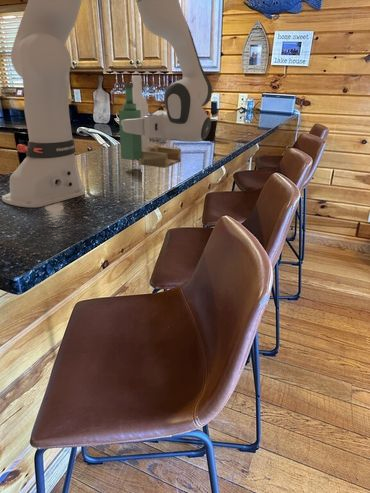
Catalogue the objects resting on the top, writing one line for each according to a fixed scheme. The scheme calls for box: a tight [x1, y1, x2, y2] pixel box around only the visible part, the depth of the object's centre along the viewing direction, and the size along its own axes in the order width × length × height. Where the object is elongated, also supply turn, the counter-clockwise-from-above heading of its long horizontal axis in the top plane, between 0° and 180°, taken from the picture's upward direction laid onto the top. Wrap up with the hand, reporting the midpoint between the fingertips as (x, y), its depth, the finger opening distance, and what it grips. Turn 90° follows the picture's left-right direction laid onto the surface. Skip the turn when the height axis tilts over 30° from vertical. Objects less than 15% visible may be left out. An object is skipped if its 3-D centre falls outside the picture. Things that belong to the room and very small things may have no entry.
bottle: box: [131, 75, 150, 150], centre depth 142 cm, size 8×8×30 cm
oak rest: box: [138, 145, 182, 169], centre depth 136 cm, size 12×11×5 cm
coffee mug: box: [202, 118, 218, 142], centre depth 185 cm, size 12×9×10 cm
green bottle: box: [118, 82, 142, 161], centre depth 122 cm, size 5×5×24 cm
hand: (128, 122), depth 122 cm, fingers closed on green bottle, 5 cm apart
